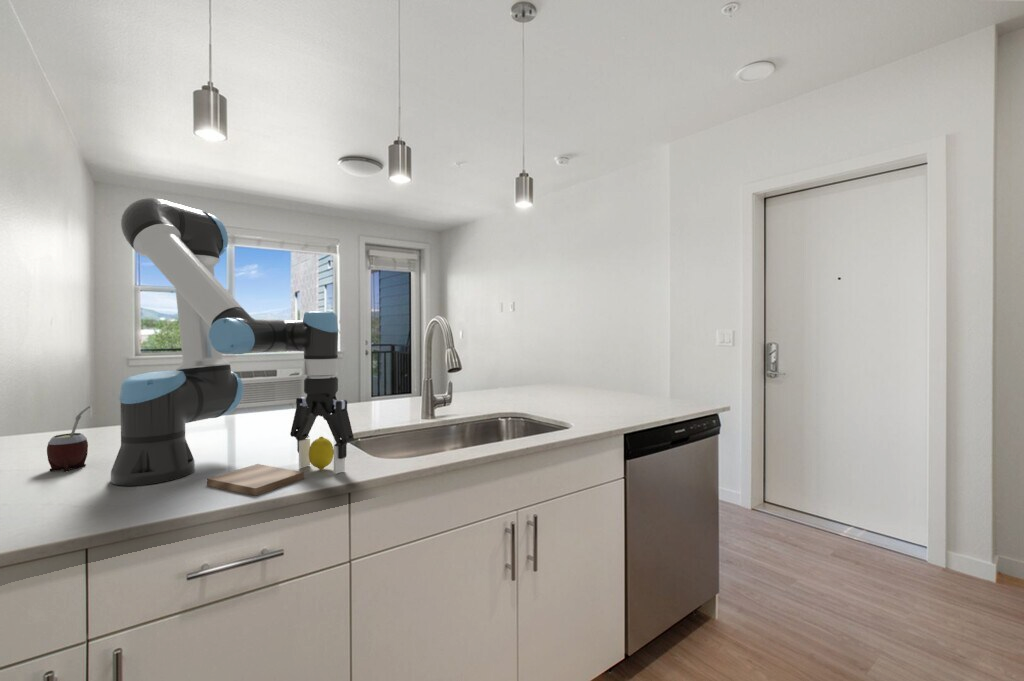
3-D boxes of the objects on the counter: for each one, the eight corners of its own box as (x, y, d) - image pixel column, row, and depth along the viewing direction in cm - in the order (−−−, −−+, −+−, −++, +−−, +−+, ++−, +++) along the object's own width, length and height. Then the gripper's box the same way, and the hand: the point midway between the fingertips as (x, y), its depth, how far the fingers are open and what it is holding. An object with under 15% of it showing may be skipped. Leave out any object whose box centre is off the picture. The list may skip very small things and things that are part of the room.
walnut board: (206, 485, 99) (206, 478, 99) (257, 470, 110) (257, 463, 110) (255, 495, 93) (255, 488, 93) (303, 478, 104) (303, 471, 104)
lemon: (324, 474, 108) (324, 439, 107) (303, 472, 109) (303, 438, 108) (338, 467, 113) (338, 434, 113) (318, 465, 114) (317, 433, 114)
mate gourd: (50, 467, 111) (49, 405, 111) (94, 462, 116) (93, 402, 116) (44, 475, 106) (43, 409, 105) (90, 469, 110) (89, 406, 110)
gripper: (370, 377, 109) (370, 470, 110) (298, 373, 118) (299, 459, 119) (346, 380, 102) (347, 479, 103) (273, 375, 112) (273, 467, 112)
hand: (321, 469), depth 111 cm, fingers open, 10 cm apart
